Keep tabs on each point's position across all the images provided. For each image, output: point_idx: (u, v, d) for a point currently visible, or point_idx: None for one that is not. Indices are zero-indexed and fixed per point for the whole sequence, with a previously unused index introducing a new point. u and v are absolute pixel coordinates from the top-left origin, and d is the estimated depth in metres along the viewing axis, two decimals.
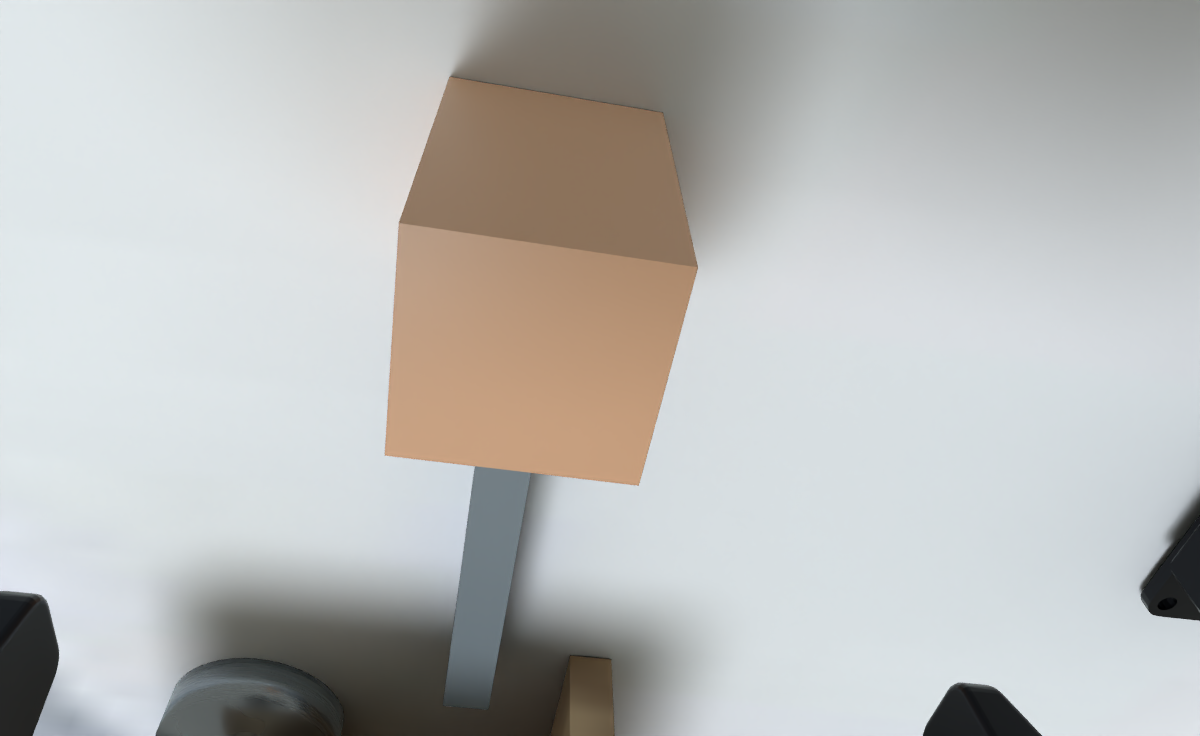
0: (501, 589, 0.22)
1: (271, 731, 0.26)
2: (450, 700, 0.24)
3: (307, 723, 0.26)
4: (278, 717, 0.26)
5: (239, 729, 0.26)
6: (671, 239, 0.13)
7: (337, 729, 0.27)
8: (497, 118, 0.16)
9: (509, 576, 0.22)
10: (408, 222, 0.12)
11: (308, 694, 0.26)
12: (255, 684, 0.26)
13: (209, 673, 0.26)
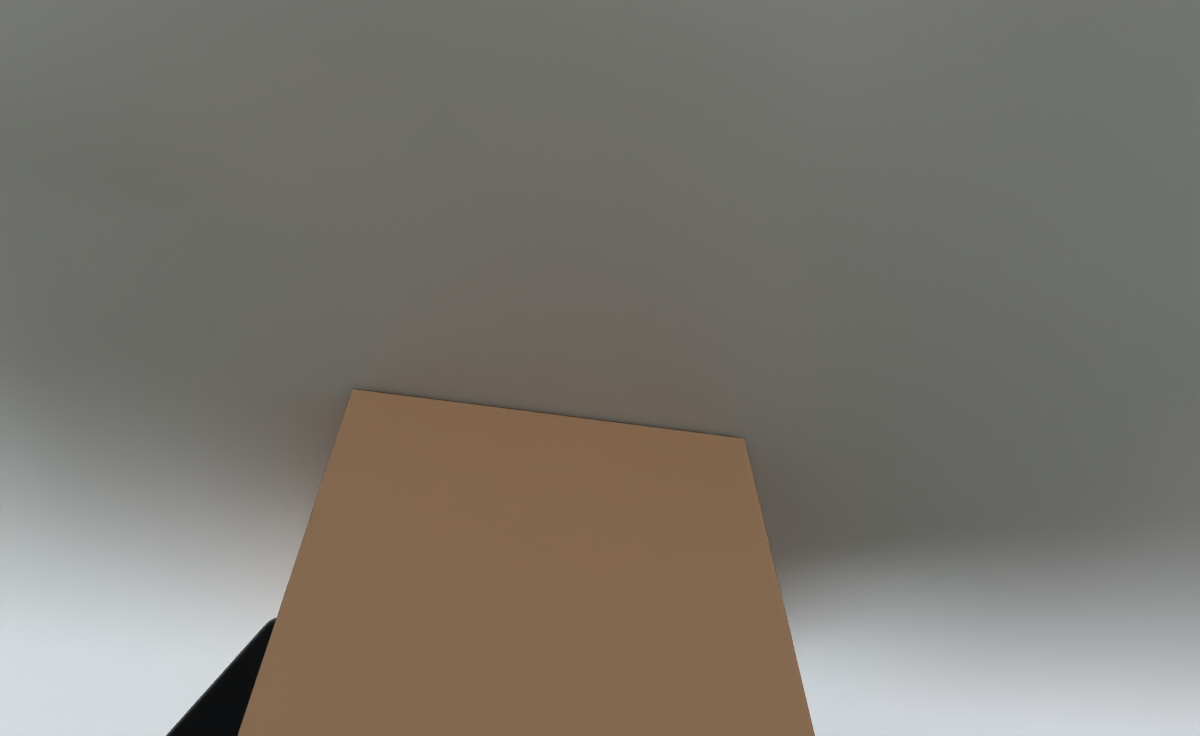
0: None
1: None
2: None
3: None
4: None
5: None
6: None
7: None
8: (432, 523, 0.08)
9: None
10: None
11: None
12: None
13: None
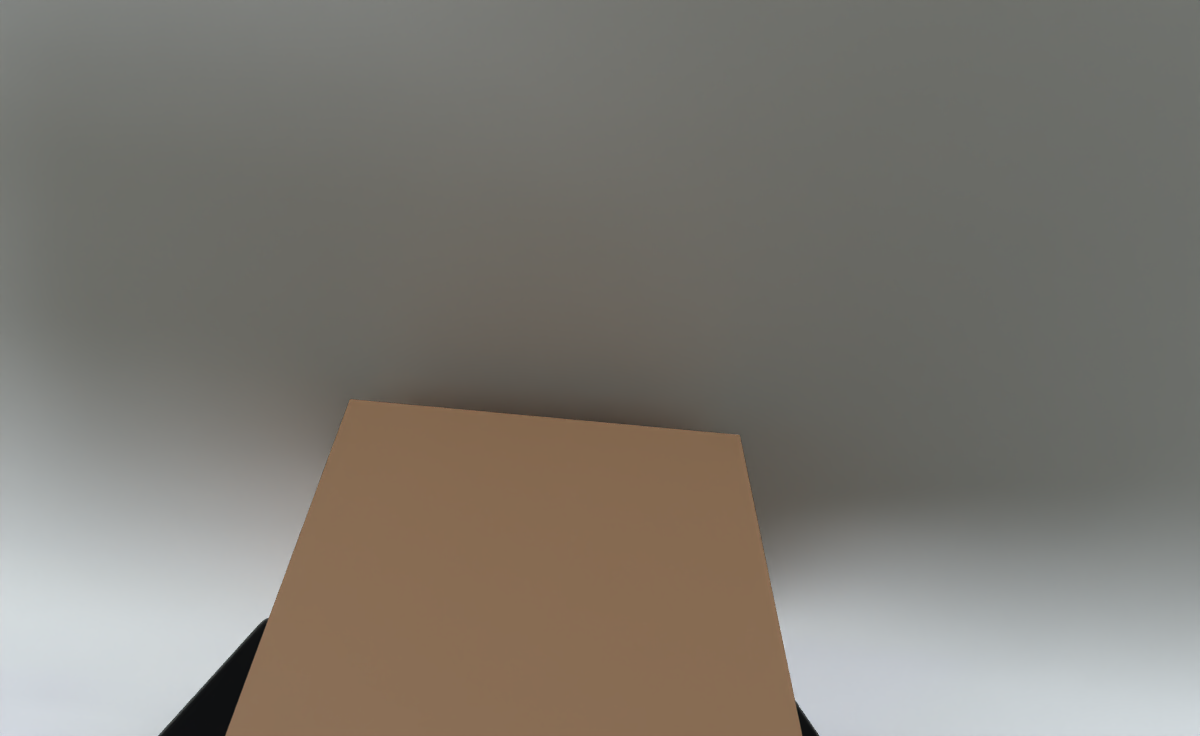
0: None
1: None
2: None
3: None
4: None
5: None
6: None
7: None
8: (422, 526, 0.08)
9: None
10: None
11: None
12: None
13: None
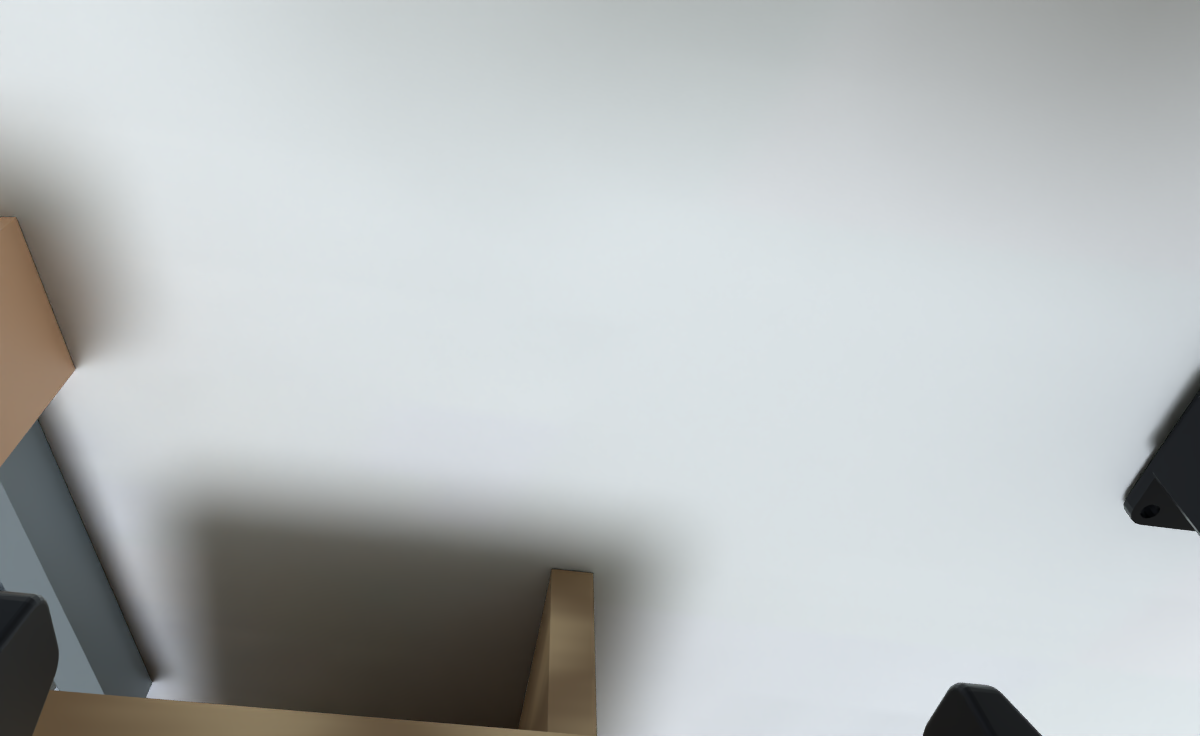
0: (69, 636, 0.25)
1: None
2: None
3: None
4: None
5: None
6: None
7: None
8: None
9: (68, 624, 0.24)
10: None
11: None
12: None
13: None
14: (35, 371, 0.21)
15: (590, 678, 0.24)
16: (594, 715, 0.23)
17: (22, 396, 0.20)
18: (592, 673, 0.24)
